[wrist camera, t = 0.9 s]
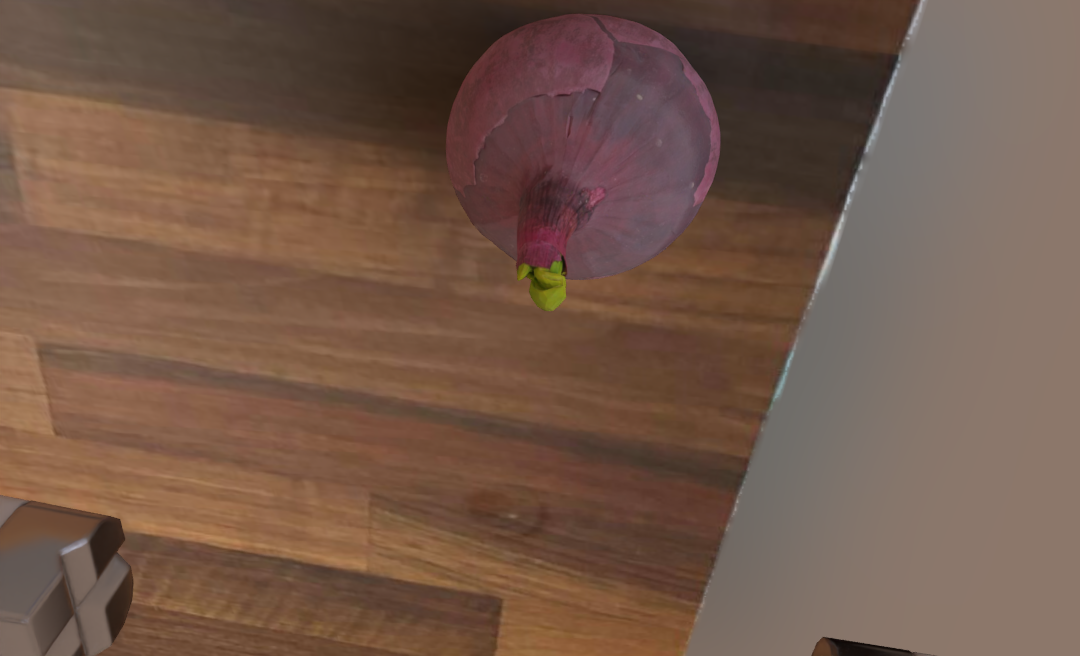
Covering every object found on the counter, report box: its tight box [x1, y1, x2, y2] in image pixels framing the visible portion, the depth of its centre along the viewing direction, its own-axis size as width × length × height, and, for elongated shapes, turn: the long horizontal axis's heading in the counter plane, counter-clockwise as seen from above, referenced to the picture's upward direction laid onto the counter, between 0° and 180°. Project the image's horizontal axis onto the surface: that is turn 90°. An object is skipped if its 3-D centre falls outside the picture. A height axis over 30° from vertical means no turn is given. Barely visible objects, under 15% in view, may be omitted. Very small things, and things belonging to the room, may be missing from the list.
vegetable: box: [446, 14, 720, 311], centre depth 21 cm, size 6×6×10 cm
